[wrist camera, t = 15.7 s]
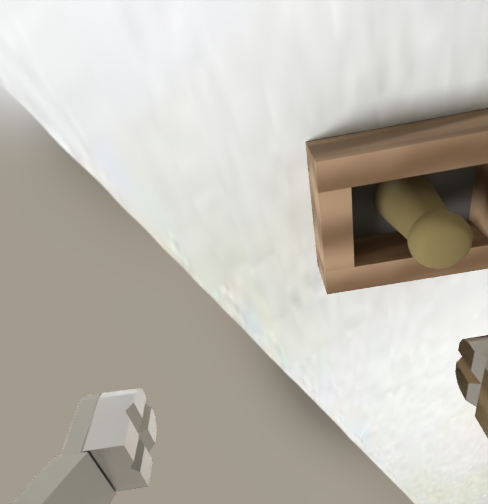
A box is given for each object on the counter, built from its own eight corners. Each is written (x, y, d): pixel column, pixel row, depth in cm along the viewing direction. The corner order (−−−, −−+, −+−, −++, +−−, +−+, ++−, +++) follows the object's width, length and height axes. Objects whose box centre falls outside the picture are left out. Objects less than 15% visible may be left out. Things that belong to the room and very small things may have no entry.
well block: (305, 142, 41) (315, 162, 36) (514, 103, 39) (551, 119, 35) (317, 265, 49) (327, 294, 44) (491, 236, 48) (519, 263, 43)
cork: (389, 161, 42) (435, 211, 33) (441, 176, 43) (500, 228, 34) (363, 212, 45) (398, 271, 36) (412, 225, 46) (459, 285, 37)
